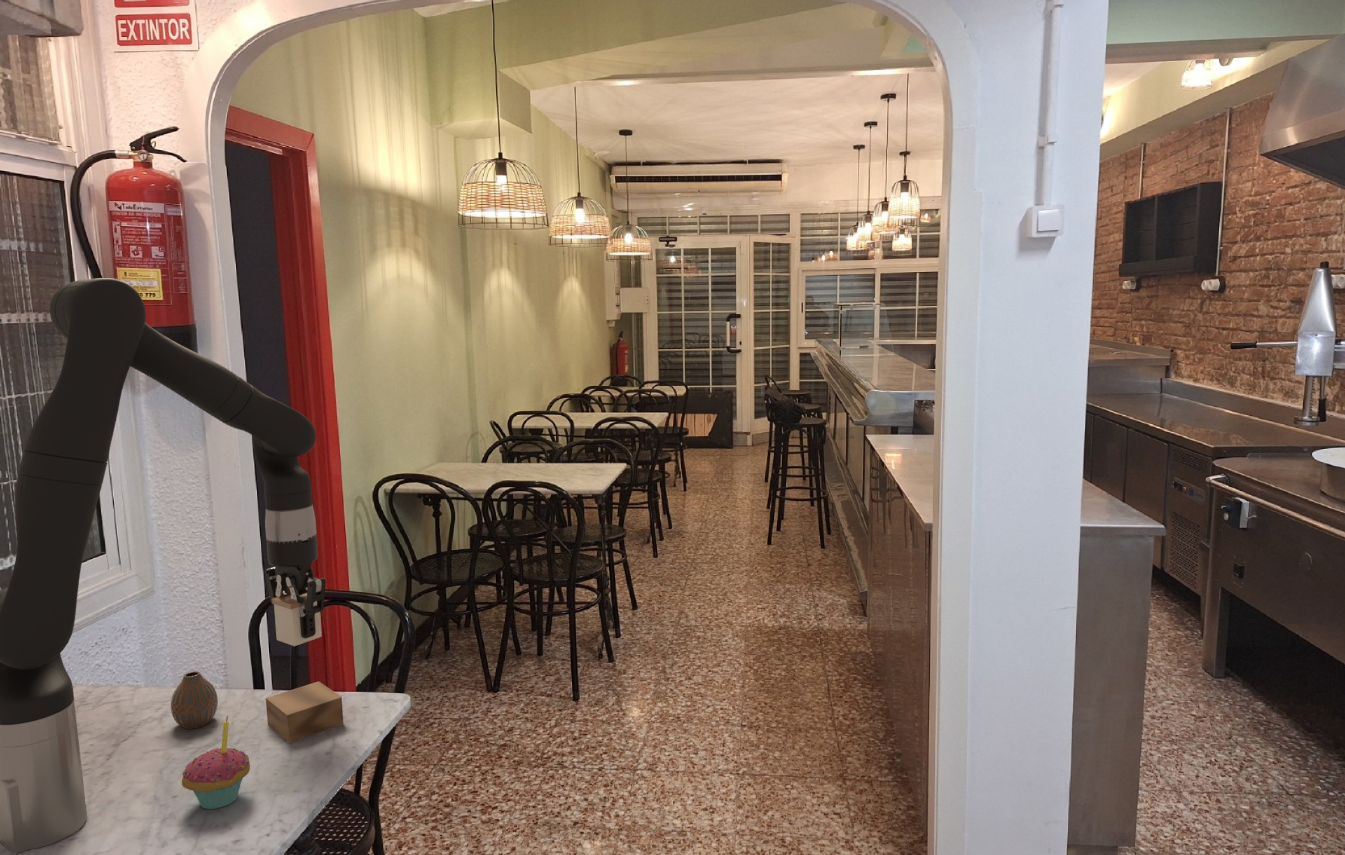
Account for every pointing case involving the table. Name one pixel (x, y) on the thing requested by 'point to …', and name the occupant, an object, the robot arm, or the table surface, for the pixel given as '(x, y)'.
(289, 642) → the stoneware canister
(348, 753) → the table surface
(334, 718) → the brown wooden block
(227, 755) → the cupcake
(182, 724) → the vase
